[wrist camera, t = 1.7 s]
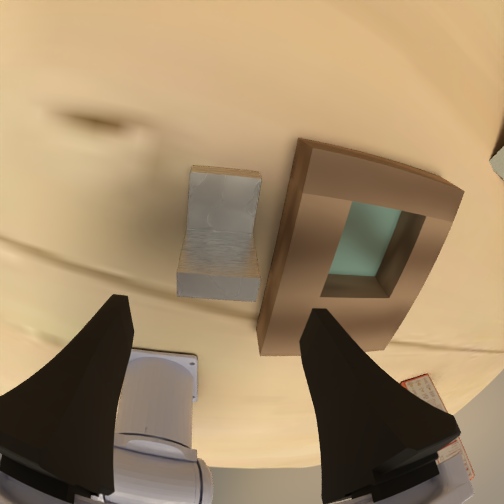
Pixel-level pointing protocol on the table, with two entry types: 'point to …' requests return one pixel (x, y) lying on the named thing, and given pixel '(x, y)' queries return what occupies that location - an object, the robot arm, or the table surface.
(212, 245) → the grey block
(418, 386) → the cracker box
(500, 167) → the grey slanted stand
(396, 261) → the well block
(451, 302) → the table surface
